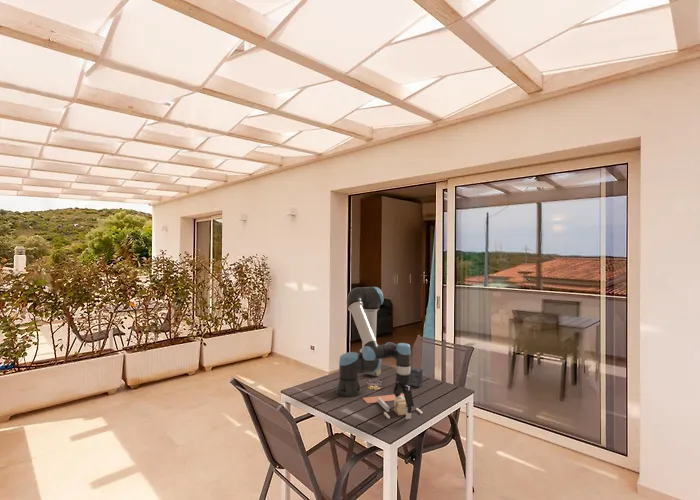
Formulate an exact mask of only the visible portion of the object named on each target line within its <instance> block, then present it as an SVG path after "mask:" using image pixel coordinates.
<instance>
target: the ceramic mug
mask: <svg viewBox="0 0 700 500" xmlns="http://www.w3.org/2000/svg"><path fill="white" fill-rule="evenodd" d="M381 373H382V370H381V367H380V369H379V370H378V371H375V372H372V373H366V374H367V375H369V376H372V377H379V376H380V375H381Z"/></svg>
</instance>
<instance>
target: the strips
mask: <svg viewBox="0 0 700 500" xmlns="http://www.w3.org/2000/svg"><path fill="white" fill-rule="evenodd" d="M415 411H416V412H418V413H419V414H420V415H423V414H424V413H423V411H422V410H421V409H420V408H418V407H415ZM383 415H384V416H385V417H386V418H387V419H391V416H390V415H389V414H388V412H387V411H383Z"/></svg>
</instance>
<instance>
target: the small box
mask: <svg viewBox="0 0 700 500" xmlns="http://www.w3.org/2000/svg"><path fill="white" fill-rule="evenodd" d="M408 385H409V386H411V387H413V386H414V387H413V388H418V387H419V388H420V386H421V387H422V386H423V369H422V368H416V367H411V366H410V381H409V382H408Z"/></svg>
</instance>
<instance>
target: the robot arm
mask: <svg viewBox="0 0 700 500" xmlns="http://www.w3.org/2000/svg"><path fill="white" fill-rule="evenodd" d="M384 299H385V298H384V294H383V291H382V289H380V288H379V287H378V286H363V287H354V288H352V289H351V290H350V291H349V293H348V295H347V297H346V306H347V309H348V311H349V312H350V313H351V315H352V319H353V321H354V324H355V326H356V328H357V331H358V335H359V337H360V339H361V342H362V343H361V346H362V347H361V348H360V349H359V353H358V352H356V351H351V352H345V353H343V354H341V355H340V357H339V361H338V364H339V367H338V368H339V369H338V371H339V374H338V375H339V379H338V381H337V385H336V388H335V389H336V391H335V392H336V394H337V395H339V396H341V397H348V398H349V397H357V396H359V395H361V392H362V389H361V385H360V381H359V375H362V374H367V373H372V372H375V371H378V370H379V369H380V368H381V366H382V360H386V359H391V358H392V359H394V360H395V361H396V362H395V363H396V367H395V369H396V370H395V371H396V373H395V375H396V376H395V382H394V388H393V395H394V394H395V396H396V397H395V400H398V399H400V396H401V395H400V394H404V397H405V401H406V404H407V405H406V415H405V420H411V419H412V407H414V405H415V404H414V398H413V393H412V386H408V382H409V381H410V367H411V359H412V357H411V356H412V354H411V353H412V351H411V345H410V344H409V343H405V342H400V343H399V342H398V343H397V344H396V343H395V342H390V341H389V342H386V343H385V344H378V341H377V326H378V325H377V320H378V319H377V318H378V316H377V315H378V311H379V310H380V306H381V305H383V303H384Z"/></svg>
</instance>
